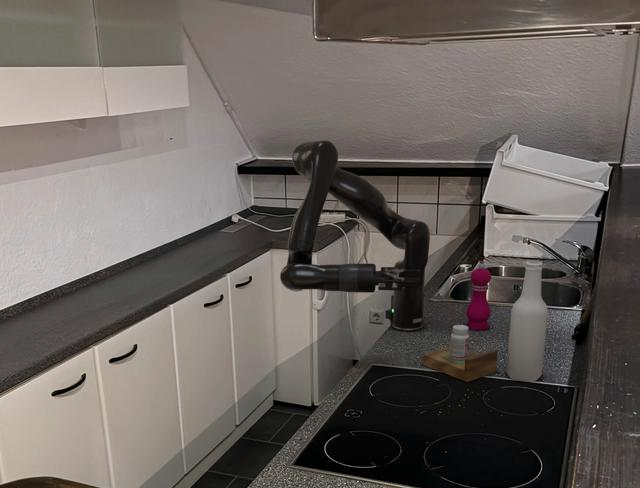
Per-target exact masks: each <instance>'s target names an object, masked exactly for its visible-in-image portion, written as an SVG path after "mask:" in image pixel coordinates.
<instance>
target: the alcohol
mask: <svg viewBox="0 0 640 488" xmlns="http://www.w3.org/2000/svg"><path fill="white" fill-rule="evenodd" d="M543 265H544V264H543V262H542V261H540V260H527V261H526V262H525V267H524V268H525V269H524V270H525V272H524V278H523V284H522V290H521V294H520V297H519V298H518V299H517V300H516V301H515V302H513V304H512V308H511V311H510V320H509V321H510V323H509V333H508V334H509V335H508V343H507V344H508V347H507V356H506V366H505V367H506V368H505V369H506V370H505V372H506V374H507V376H508V377H509V378H510V379H513V380H515V381H520V382H534V381H537V380H539V379H540V378H541V377H542V376H543V375H542V374H543V365H544V356H545V348H546V347H545V346H546V338H547V337H546V336H547V329H548V328H547V327H548V318H549V309H548V305H547V304H546V302H545V301H544V300H543V297H542V277H543V276H542V271H543Z"/></svg>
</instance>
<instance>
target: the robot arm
mask: <svg viewBox="0 0 640 488" xmlns="http://www.w3.org/2000/svg"><path fill="white" fill-rule="evenodd" d="M291 155H292V156H291V160H292V164H293V167H294V169H295V171H296V172H297V173H298V175H300V176H301V177H302V178H304V179H306V180H308V181H309V185H308V189H307V191H306V194H305V196H304V198H303V200H302V202H301V204H300V205H299V206H298V208H297V211H296V213H295V214H294V217H293V220H292V222H291V225H290V230H289V235H288V241H287V252H288V256H287V262H286V265H285V266H284V267H283V268H282V269H281V271H280V274H279V279H280V283H281V284H282V285H283V287H285V288H286V289H288V290H290V291H292V292H297V293H298V292H301V291H304V290H305V291H306V290H318V291H322V292H343V293H364V294H365V293H366V294H367V293H369V294H370V293H371V294H372V293H375V292H376V286H377V290H378V291H393V294H392V295H391V296H390V308H389V309H385V314H384V315H385V316H384V317H385V319H387V320H389V322H390V326H391V327H392V329H395V330H397V331H401V332H414V331H419V330H421V329H423V328H424V302H425V301H424V300H425V276H426V275H425V274H426V267H427V265H428V262H429V253H430V245H431V244H430V241H431V232H430V228H429V226H428V224H427V223H426V222H424V221H421V220H417V219H412V218H408V217H405V216H402V215H400V214H398V213H397V212H396V211H394V210H393V209H392V208H391V207H390V206H389V205H388V201H387V199H386V197H385V195H384V194H383V192H382V191H380V190H379V189H378V188H377V187H376V186H375V185H374V184H372V183H371V182H370V181H368V180H367V179H365V178H363V177H361V176H359V175H357V174H355V173H353V172H349V171H347V170H345V169H341V168H340V167H338V163H339V153H338V149H337V147H336V145H335V144H334V143H332V142H331V141H329V140H314V141H313V140H312V141H307V142H303V143H301V144H299V145H297V146H296V147H295V148H294V150H293V152H292V154H291ZM328 194H329V195H330V196H332V197H333V198H334V199H335V200H337V201H338V202H339V203H341V204H342V205H343V206H345V208H347V209H348V210H349V211H351V212H352V213H353V214H355V215H356V216H357V217H358V218H360V219H362V221H364V222H365V223H367V224H369V225H370V226H372V227H373V228H374V229H376V230H377V231H378V232H379V233H380V234H381V235H382V236H383V237H384V238H385V239H386V240H387V241H388V242H389V243H390V244H391V245H392V246H393V247H395V248H397V249H400V250H403V251H404V257H403V260H398V261H396V262H395V263H394V264H393V266H381V267H380V270H377V267H376V266H377V265H376V264H375V263H342V264H333V263H332V264H331V263H328V264H327V263H326V264H313V253H314V249H315V245H316V239H317V235H318V228H319V223H320V219H321V216H322V212H323V210H324V206H325V203H326V200H327V197H328ZM393 324H394V325H393Z"/></svg>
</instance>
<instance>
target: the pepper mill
mask: <svg viewBox="0 0 640 488" xmlns="http://www.w3.org/2000/svg"><path fill="white" fill-rule="evenodd" d="M491 280H492V273H491V272H490V271H489V270H488V269H487V268H485V264H484V263H479V265H478V268H476V269H473V271H472V272H471V273H470V281H471V282H472V284H471V290H472V298H471V300H470V303H469V304H468V306H467V308H466V313H465V316H466V317H467V322H466V326H468V330H474V331H485V330H487V329H488V328H489V321H488V320H489V319H490V317H491V307H490V305H489V302H488V298H487V294H488V290H490V288H489V287H490V285H489V283H490V282H491Z"/></svg>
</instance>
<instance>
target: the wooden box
mask: <svg viewBox="0 0 640 488" xmlns="http://www.w3.org/2000/svg"><path fill="white" fill-rule="evenodd" d="M498 353H499V351H498V350H496V349H492V350H489V351H485V352H483V353H480V354H479V353H478V354H476V353H473V352H471V351H468V358H467V359H464V360H455V359H452V358H451V357H450V345H448V346H446V347H443V348H439V349H436V350H432V351H430V352H426V353H423V354H422V366H424V367H426V368H427V367H428V368H430V369H432V370H435V371H437V372H440V373H443V374H445V375H447V376H449V377H453V378H456V379H458V380H461V381H463V382H465V383H470V382H472V381H474V380H477V379H481V378H484V377H486V376H489V375H492V374H495V373H497V364H498Z"/></svg>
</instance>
